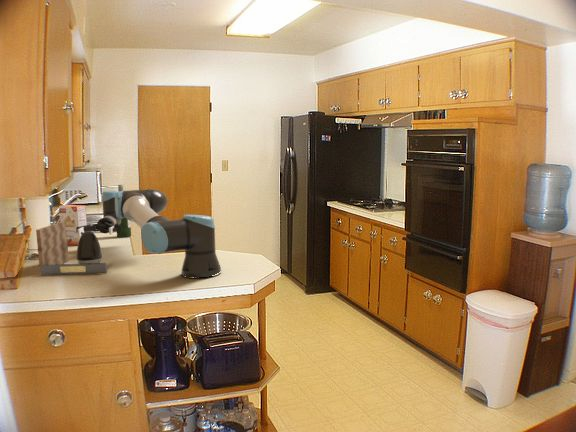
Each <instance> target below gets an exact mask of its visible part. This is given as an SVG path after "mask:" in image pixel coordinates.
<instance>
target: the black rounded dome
mask: <svg viewBox="0 0 576 432" xmlns="http://www.w3.org/2000/svg"><path fill="white" fill-rule="evenodd" d="M76 250H77V251H76V260H77V261H78V264H86V263H102V259H103V252H102V248H101V245H100V242H99V240H98V237H97V236H96V234H95V233H94V231H86V232H84V233H83V232H81V237H80V240H79V243H78V245H77V248H76Z"/></svg>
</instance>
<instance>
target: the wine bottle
mask: <svg viewBox="0 0 576 432" xmlns="http://www.w3.org/2000/svg"><path fill="white" fill-rule="evenodd" d="M117 187H118V191H117V192H119V191H124V184H117ZM120 225H121V226H122V231H118V230H117V232H116V237H117V238H119V239H120V238H122V239H123V238H125V239H126V238H130V237H132V227H131V226H132V225H131V221H129V220H128V219H126V218H121V223H120Z"/></svg>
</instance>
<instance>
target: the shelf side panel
mask: <svg viewBox="0 0 576 432" xmlns="http://www.w3.org/2000/svg"><path fill="white" fill-rule="evenodd" d="M35 232H36V244H37V256H38V265H39V274H40V275H41V268H40V266H41V265H51V264H67V262H69V261H70V260H69V257H70V256H69V248H68V247H69V246H68V245H69V244H67V233H66V221H64V222H60V221H59V222H57V223H53V224H50V225H47V226H44V227H41V228H38V229H36V230H35Z"/></svg>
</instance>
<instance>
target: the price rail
mask: <svg viewBox="0 0 576 432" xmlns="http://www.w3.org/2000/svg"><path fill="white" fill-rule="evenodd" d="M40 268H41V274H40V276H67V275H98V274H97V273H106V274H108V273H109V272H108V263H107V262H100V263H86V264H79V263H64V264H51V265H41V266H40V267H39V269H40ZM107 272H108V273H107Z"/></svg>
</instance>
